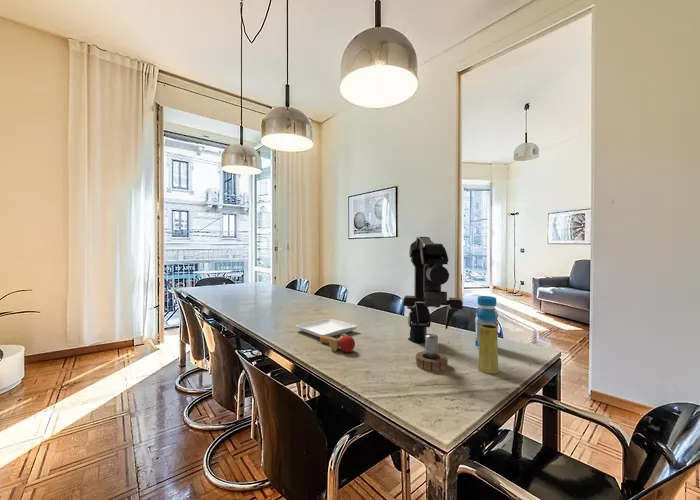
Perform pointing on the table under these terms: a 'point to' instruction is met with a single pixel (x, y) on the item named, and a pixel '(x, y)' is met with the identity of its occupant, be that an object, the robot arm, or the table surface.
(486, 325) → the vase
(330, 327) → the salad plate
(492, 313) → the beverage bottle
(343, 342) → the kendama
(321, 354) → the table surface
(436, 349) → the grey metal cylinder
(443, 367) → the bead ring
